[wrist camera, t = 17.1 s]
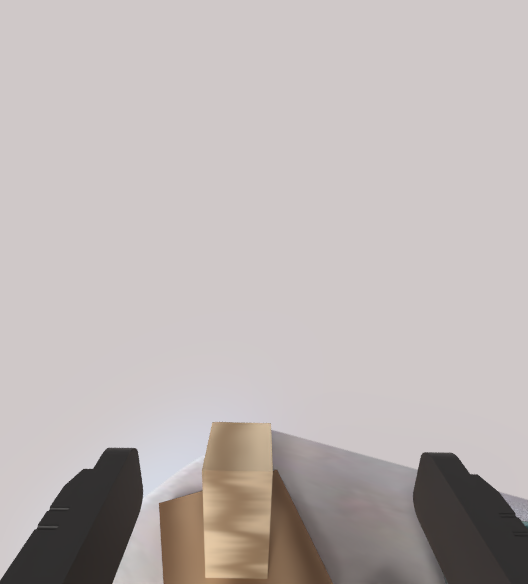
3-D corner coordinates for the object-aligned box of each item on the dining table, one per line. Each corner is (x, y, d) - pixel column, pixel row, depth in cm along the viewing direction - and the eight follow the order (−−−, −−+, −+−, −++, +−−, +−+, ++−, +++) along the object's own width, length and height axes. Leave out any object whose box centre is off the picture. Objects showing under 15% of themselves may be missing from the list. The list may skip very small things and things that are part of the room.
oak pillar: (266, 518, 33) (270, 423, 30) (267, 578, 28) (272, 471, 25) (214, 517, 33) (212, 422, 30) (205, 578, 28) (202, 470, 25)
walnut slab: (275, 488, 40) (276, 469, 39) (336, 621, 28) (340, 598, 27) (160, 523, 36) (159, 503, 35) (171, 703, 23) (169, 678, 22)
